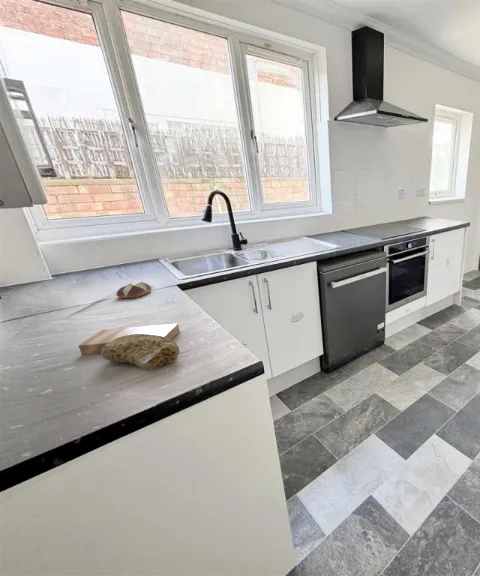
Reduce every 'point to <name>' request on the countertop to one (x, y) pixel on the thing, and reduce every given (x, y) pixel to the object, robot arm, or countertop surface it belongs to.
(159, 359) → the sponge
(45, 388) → the countertop surface
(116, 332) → the wooden board
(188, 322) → the countertop surface
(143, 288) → the bread
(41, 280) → the countertop surface
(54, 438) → the countertop surface
